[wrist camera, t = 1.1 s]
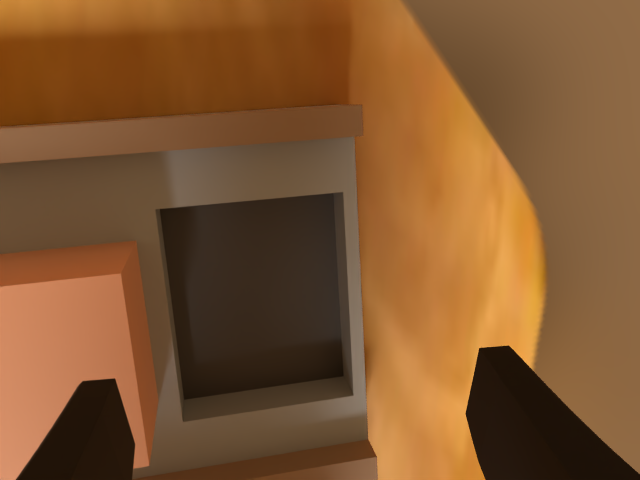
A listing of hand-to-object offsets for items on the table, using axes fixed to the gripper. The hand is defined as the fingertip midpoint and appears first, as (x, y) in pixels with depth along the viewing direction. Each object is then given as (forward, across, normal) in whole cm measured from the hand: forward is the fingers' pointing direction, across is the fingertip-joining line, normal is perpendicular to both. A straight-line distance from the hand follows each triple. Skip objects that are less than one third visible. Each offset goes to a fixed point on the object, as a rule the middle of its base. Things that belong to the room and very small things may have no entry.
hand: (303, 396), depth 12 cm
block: (+8, +8, +5) cm, 12 cm away
